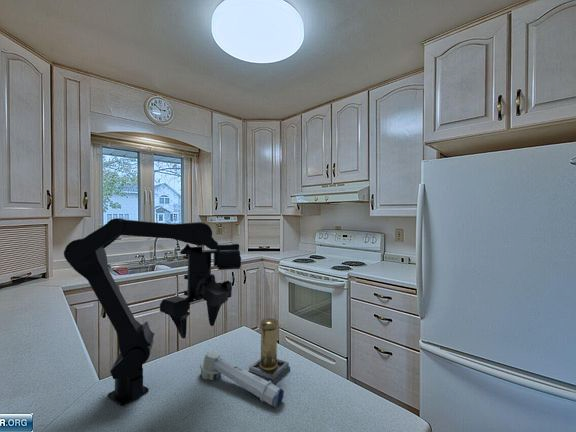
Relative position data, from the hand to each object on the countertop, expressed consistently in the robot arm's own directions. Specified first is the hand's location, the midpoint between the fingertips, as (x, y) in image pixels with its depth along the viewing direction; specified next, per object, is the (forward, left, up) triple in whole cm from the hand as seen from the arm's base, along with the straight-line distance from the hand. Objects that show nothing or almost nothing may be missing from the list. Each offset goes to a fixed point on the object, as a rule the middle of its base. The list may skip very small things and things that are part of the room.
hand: (198, 331), depth 71 cm
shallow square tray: (+13, +13, -13) cm, 23 cm away
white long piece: (+10, +4, -14) cm, 17 cm away
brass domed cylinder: (+13, +13, -12) cm, 22 cm away
